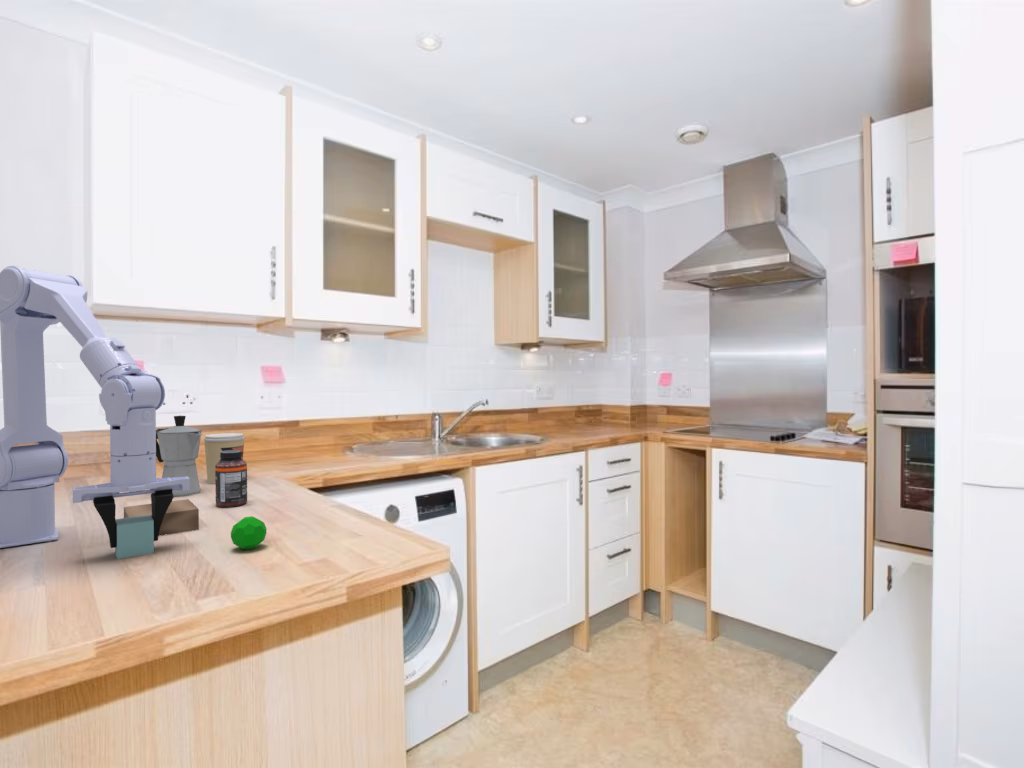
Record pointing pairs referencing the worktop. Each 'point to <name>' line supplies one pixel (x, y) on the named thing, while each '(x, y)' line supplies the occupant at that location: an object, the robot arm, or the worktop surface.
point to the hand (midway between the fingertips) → (134, 542)
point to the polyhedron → (248, 533)
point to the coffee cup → (220, 449)
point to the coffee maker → (179, 453)
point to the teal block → (134, 536)
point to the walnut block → (170, 516)
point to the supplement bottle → (231, 479)
